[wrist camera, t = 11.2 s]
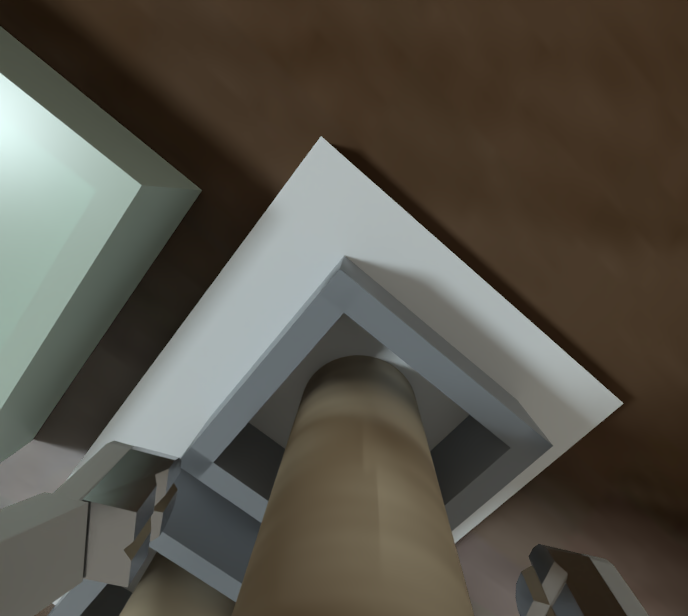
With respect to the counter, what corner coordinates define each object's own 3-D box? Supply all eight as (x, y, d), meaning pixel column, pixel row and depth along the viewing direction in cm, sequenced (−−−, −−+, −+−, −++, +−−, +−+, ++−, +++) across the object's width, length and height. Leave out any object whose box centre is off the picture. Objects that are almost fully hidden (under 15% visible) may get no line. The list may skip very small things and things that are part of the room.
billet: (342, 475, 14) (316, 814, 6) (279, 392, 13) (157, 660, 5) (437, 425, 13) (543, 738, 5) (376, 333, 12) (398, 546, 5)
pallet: (250, 691, 19) (226, 798, 15) (19, 550, 17) (-66, 636, 14) (604, 389, 14) (685, 450, 10) (324, 141, 12) (309, 117, 8)
